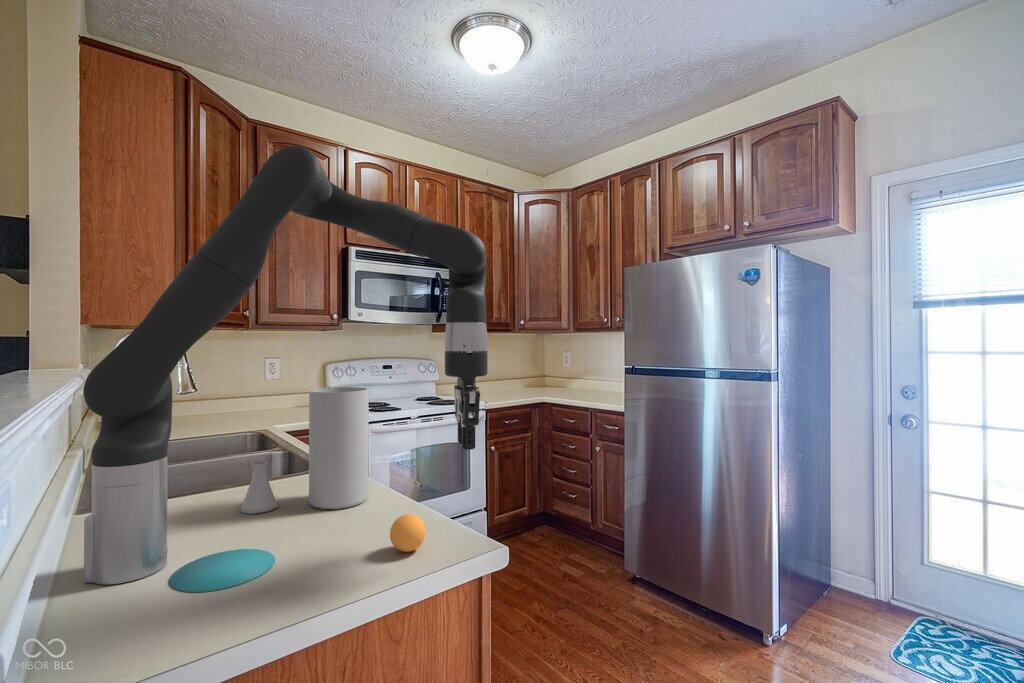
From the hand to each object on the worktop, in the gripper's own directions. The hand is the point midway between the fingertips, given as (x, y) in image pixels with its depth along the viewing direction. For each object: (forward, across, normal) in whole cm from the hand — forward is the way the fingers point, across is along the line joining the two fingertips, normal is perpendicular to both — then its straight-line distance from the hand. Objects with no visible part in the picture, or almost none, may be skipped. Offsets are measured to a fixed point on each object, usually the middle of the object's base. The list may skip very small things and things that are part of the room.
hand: (466, 445), depth 84 cm
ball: (+14, 0, -10) cm, 17 cm away
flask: (+18, -29, -40) cm, 52 cm away
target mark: (+17, 0, -38) cm, 42 cm away
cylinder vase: (+18, -30, -24) cm, 42 cm away
